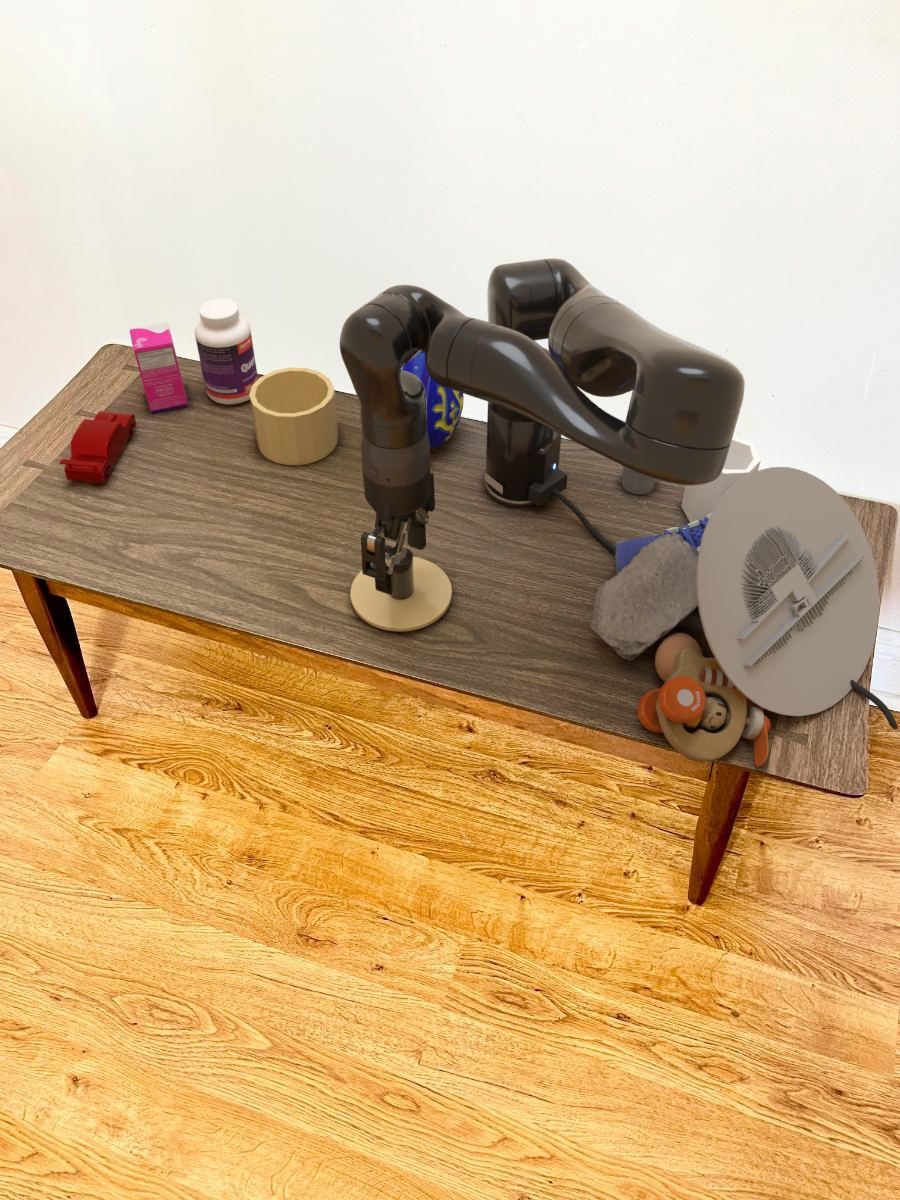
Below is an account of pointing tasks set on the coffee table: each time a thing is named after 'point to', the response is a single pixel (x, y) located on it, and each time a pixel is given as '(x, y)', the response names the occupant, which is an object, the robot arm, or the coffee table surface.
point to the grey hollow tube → (636, 482)
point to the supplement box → (159, 367)
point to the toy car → (98, 446)
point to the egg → (672, 653)
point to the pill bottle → (225, 352)
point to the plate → (787, 591)
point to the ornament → (437, 403)
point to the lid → (404, 595)
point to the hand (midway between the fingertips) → (401, 568)
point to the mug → (721, 480)
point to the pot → (294, 415)
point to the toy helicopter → (703, 711)
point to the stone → (647, 596)
